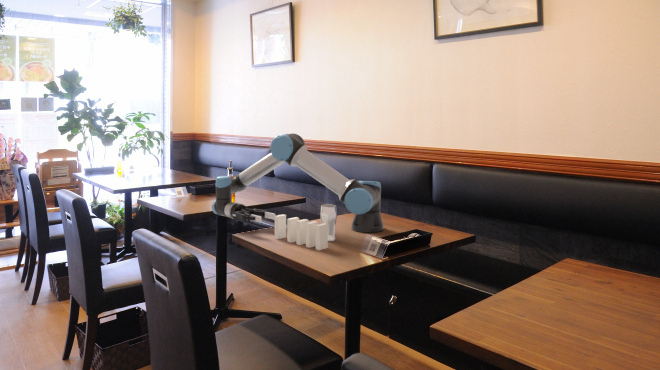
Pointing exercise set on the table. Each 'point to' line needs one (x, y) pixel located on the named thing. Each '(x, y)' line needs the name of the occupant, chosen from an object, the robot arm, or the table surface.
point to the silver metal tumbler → (329, 219)
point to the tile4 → (311, 234)
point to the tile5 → (321, 236)
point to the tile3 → (301, 231)
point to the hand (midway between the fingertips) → (267, 218)
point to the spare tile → (280, 226)
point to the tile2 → (291, 229)
